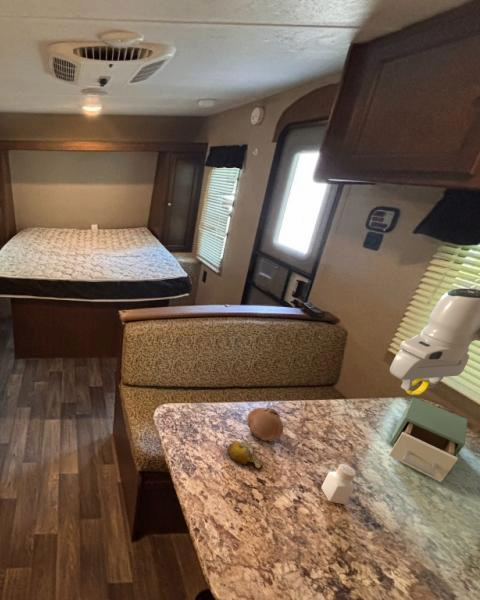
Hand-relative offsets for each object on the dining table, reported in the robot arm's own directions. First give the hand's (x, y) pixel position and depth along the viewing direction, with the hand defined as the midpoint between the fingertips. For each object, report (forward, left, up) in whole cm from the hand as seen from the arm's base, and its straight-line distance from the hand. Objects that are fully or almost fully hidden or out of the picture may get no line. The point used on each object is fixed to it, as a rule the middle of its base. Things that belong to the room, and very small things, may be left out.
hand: (416, 388), depth 90 cm
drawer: (-9, +2, -18) cm, 20 cm away
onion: (+5, +40, -19) cm, 45 cm away
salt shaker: (-15, +35, -19) cm, 43 cm away
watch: (0, 0, -2) cm, 2 cm away
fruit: (-2, +50, -19) cm, 53 cm away
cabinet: (-4, -7, -19) cm, 20 cm away
